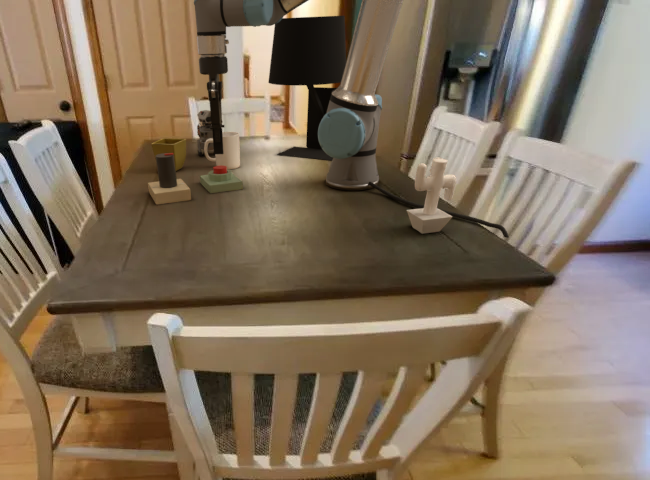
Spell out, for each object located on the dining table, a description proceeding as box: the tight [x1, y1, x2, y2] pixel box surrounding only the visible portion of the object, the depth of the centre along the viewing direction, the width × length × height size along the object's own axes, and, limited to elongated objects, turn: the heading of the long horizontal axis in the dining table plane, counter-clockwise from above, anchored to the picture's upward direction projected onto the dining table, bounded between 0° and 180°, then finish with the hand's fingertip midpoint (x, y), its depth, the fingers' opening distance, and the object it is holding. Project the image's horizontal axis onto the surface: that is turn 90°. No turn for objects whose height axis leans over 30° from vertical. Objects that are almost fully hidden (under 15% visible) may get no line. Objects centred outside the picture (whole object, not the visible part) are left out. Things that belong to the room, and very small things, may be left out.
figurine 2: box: [406, 157, 457, 235], centre depth 102 cm, size 7×9×15 cm
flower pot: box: [150, 137, 187, 172], centre depth 156 cm, size 9×9×9 cm
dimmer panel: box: [147, 178, 192, 206], centre depth 133 cm, size 12×10×3 cm
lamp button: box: [212, 165, 228, 174], centre depth 138 cm, size 4×4×2 cm
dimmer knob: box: [154, 153, 178, 188], centre depth 129 cm, size 5×5×8 cm
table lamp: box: [267, 15, 347, 162], centre depth 155 cm, size 26×28×40 cm
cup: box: [203, 131, 241, 170], centre depth 156 cm, size 8×12×10 cm
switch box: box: [199, 169, 244, 194], centre depth 139 cm, size 12×10×4 cm
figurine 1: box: [196, 109, 214, 157], centre depth 169 cm, size 9×12×15 cm
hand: (218, 153), depth 135 cm, fingers closed
